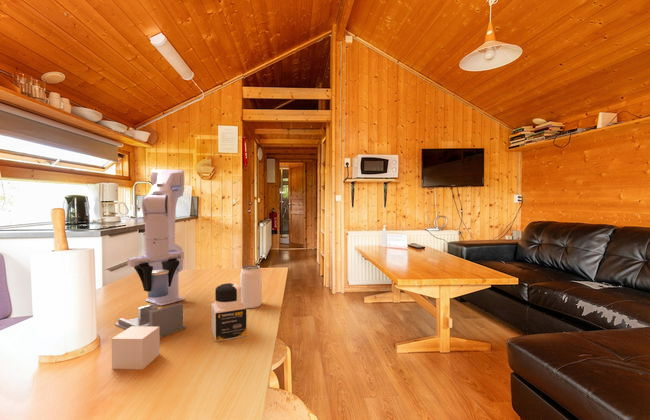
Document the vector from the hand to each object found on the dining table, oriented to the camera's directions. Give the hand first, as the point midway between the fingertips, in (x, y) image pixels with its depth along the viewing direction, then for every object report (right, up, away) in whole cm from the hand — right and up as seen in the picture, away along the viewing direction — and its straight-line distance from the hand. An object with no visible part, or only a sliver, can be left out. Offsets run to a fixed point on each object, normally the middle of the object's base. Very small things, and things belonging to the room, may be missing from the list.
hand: (157, 288), depth 86 cm
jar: (0, -2, 0) cm, 2 cm away
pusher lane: (+1, -9, -5) cm, 10 cm away
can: (+23, -8, +12) cm, 27 cm away
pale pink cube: (+8, -9, -23) cm, 26 cm away
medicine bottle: (+22, -9, -9) cm, 26 cm away
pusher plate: (0, -8, -4) cm, 9 cm away
